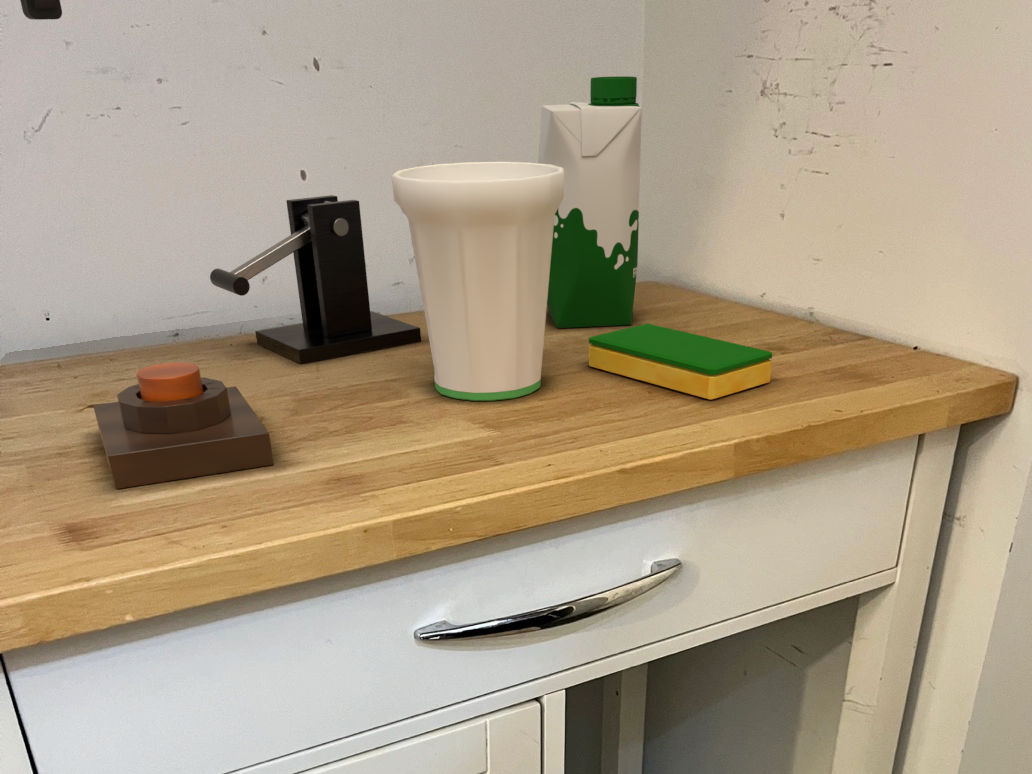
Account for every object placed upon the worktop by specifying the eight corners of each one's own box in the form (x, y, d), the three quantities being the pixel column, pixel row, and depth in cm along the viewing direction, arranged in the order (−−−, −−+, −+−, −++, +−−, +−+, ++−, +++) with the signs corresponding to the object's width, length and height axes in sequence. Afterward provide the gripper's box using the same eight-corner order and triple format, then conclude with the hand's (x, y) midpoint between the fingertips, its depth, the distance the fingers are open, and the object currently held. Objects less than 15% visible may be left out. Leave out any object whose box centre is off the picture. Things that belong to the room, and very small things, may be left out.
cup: (475, 357, 94) (465, 158, 85) (597, 378, 87) (598, 165, 79) (376, 393, 85) (354, 175, 77) (503, 419, 79) (494, 185, 71)
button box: (100, 435, 78) (86, 378, 76) (241, 415, 81) (231, 360, 79) (115, 489, 68) (100, 426, 66) (274, 465, 72) (264, 404, 70)
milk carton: (643, 327, 102) (650, 78, 91) (546, 331, 101) (542, 81, 90) (626, 306, 109) (631, 74, 98) (536, 310, 108) (531, 77, 98)
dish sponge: (646, 351, 94) (647, 322, 93) (772, 383, 85) (775, 351, 84) (586, 366, 90) (586, 336, 89) (710, 401, 82) (712, 368, 80)
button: (138, 393, 74) (133, 366, 73) (199, 385, 75) (194, 359, 74) (145, 409, 71) (139, 381, 70) (208, 400, 72) (203, 373, 71)
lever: (241, 304, 90) (227, 277, 88) (218, 294, 93) (203, 268, 92) (357, 232, 93) (345, 204, 92) (330, 225, 97) (318, 198, 95)
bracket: (300, 364, 93) (280, 213, 87) (257, 344, 99) (234, 202, 93) (421, 341, 99) (410, 198, 93) (373, 323, 105) (359, 188, 99)
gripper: (-120, -315, 67) (-37, 19, 77) (-76, -363, 58) (11, 21, 68) (7, -299, 71) (71, 17, 81) (67, -342, 62) (131, 19, 72)
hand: (44, 18), depth 74 cm, fingers closed
